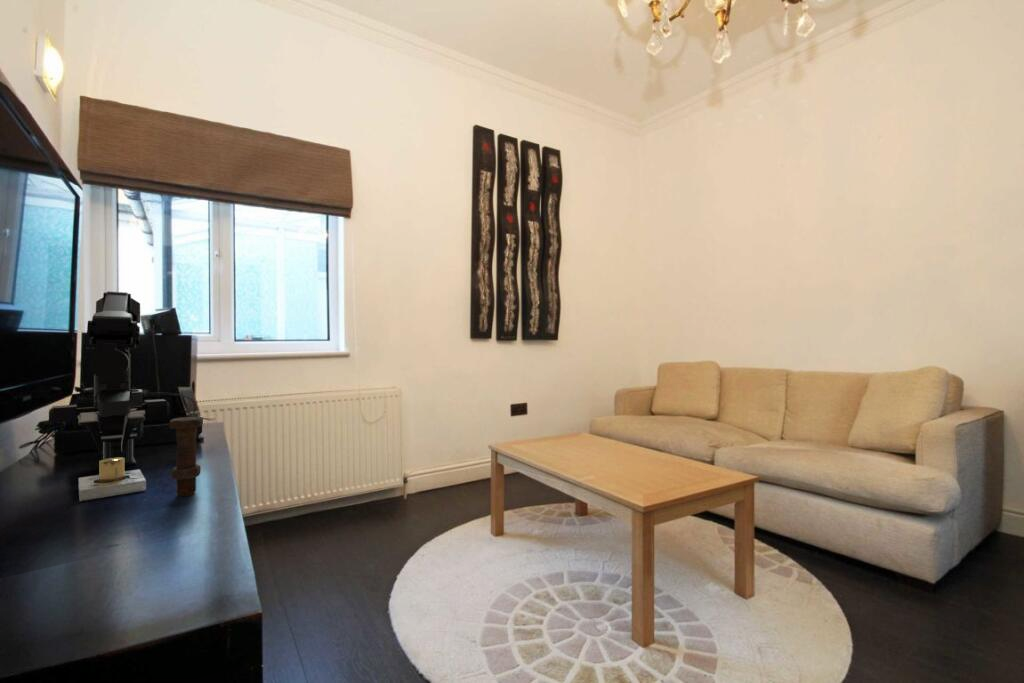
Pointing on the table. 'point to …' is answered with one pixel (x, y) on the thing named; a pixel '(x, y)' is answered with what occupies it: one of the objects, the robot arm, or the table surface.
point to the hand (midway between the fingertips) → (112, 452)
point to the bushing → (111, 470)
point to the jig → (111, 486)
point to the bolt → (186, 454)
